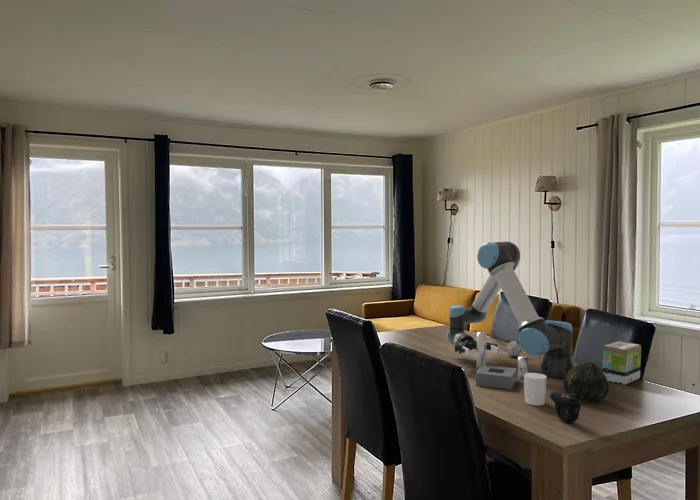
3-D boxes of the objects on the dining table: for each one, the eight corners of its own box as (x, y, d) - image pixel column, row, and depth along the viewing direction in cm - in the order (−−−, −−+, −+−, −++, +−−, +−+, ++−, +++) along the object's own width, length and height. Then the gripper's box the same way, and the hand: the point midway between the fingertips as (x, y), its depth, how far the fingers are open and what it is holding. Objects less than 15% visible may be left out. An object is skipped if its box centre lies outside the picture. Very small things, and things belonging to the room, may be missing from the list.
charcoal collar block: (516, 380, 222) (516, 368, 222) (511, 389, 210) (511, 376, 210) (482, 376, 228) (482, 364, 228) (475, 385, 216) (476, 373, 215)
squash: (556, 377, 207) (567, 354, 197) (595, 379, 207) (608, 356, 196) (565, 410, 197) (577, 388, 187) (606, 412, 197) (620, 390, 186)
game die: (510, 364, 263) (499, 348, 262) (512, 354, 271) (501, 339, 270) (526, 357, 259) (515, 341, 258) (527, 348, 266) (516, 332, 265)
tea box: (626, 385, 215) (627, 349, 214) (601, 380, 223) (601, 345, 222) (640, 378, 225) (641, 343, 224) (616, 373, 232) (617, 340, 232)
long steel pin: (486, 372, 235) (487, 332, 234) (485, 374, 231) (485, 333, 230) (477, 371, 236) (477, 331, 236) (475, 373, 233) (476, 332, 232)
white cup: (547, 406, 189) (548, 379, 189) (524, 405, 191) (525, 378, 190) (544, 400, 197) (544, 373, 196) (522, 398, 198) (522, 372, 198)
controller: (571, 428, 169) (571, 397, 169) (548, 414, 181) (548, 385, 181) (583, 426, 170) (583, 395, 170) (559, 413, 182) (559, 385, 182)
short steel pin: (528, 377, 227) (528, 356, 226) (527, 379, 223) (527, 358, 223) (518, 376, 228) (518, 355, 228) (517, 378, 225) (517, 357, 224)
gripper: (489, 348, 254) (510, 359, 233) (439, 350, 250) (456, 361, 229) (489, 333, 254) (510, 342, 233) (439, 334, 250) (456, 344, 229)
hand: (483, 351), depth 231 cm, fingers open, 13 cm apart
